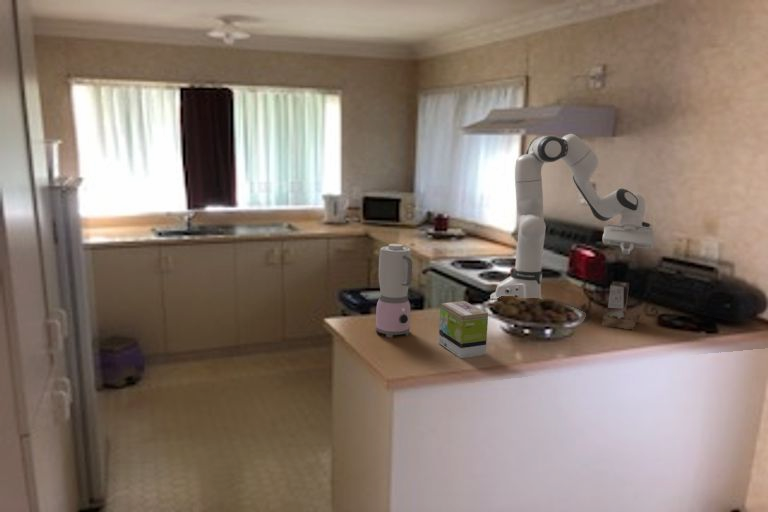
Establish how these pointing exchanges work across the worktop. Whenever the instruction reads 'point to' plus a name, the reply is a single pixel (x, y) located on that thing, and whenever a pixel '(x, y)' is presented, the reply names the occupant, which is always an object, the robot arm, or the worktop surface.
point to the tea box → (463, 329)
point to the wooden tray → (620, 321)
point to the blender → (394, 290)
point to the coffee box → (618, 300)
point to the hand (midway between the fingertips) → (625, 253)
